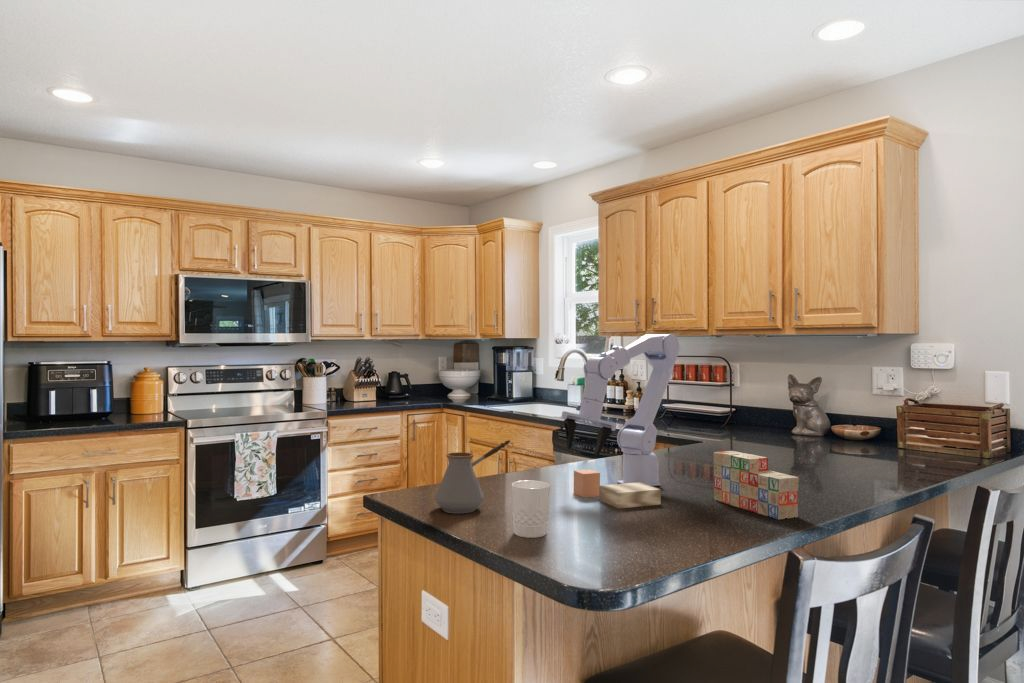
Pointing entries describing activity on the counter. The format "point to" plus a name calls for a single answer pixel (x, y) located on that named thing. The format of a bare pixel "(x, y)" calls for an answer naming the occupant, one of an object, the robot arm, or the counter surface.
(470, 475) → the coffee pot
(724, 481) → the stack of blocks
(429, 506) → the counter surface
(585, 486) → the terracotta block
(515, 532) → the white cup
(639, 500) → the birch block
